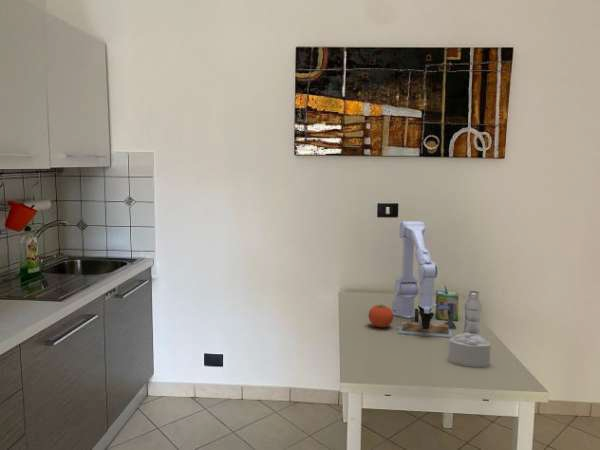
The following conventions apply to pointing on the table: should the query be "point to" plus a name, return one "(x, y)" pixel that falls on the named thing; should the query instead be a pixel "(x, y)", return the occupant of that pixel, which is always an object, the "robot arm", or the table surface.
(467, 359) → the lumpy-topped squat cylinder
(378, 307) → the tomato
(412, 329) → the wavy strip
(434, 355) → the table surface
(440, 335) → the mat
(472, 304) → the plastic bottle
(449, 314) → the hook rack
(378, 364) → the table surface
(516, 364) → the table surface
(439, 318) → the chalk box
